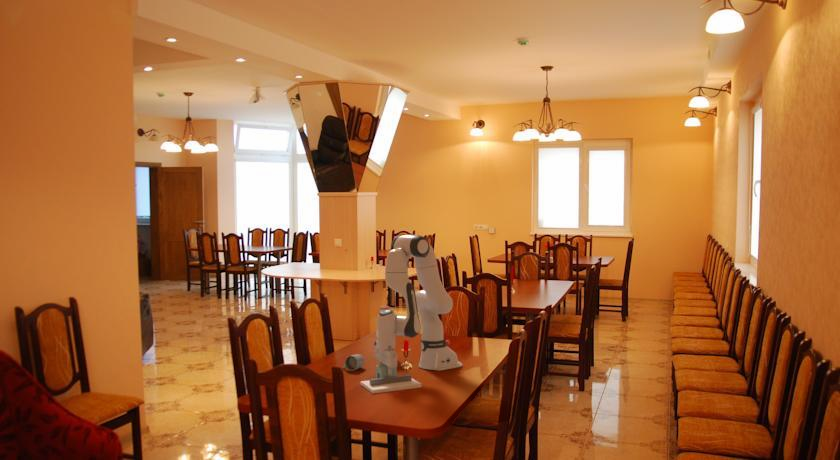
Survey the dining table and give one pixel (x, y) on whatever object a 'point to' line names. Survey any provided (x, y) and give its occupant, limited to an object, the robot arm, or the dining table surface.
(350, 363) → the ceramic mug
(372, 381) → the metal rail
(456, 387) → the dining table surface
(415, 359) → the dining table surface
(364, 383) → the mounting board
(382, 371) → the channel block
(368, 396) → the dining table surface
